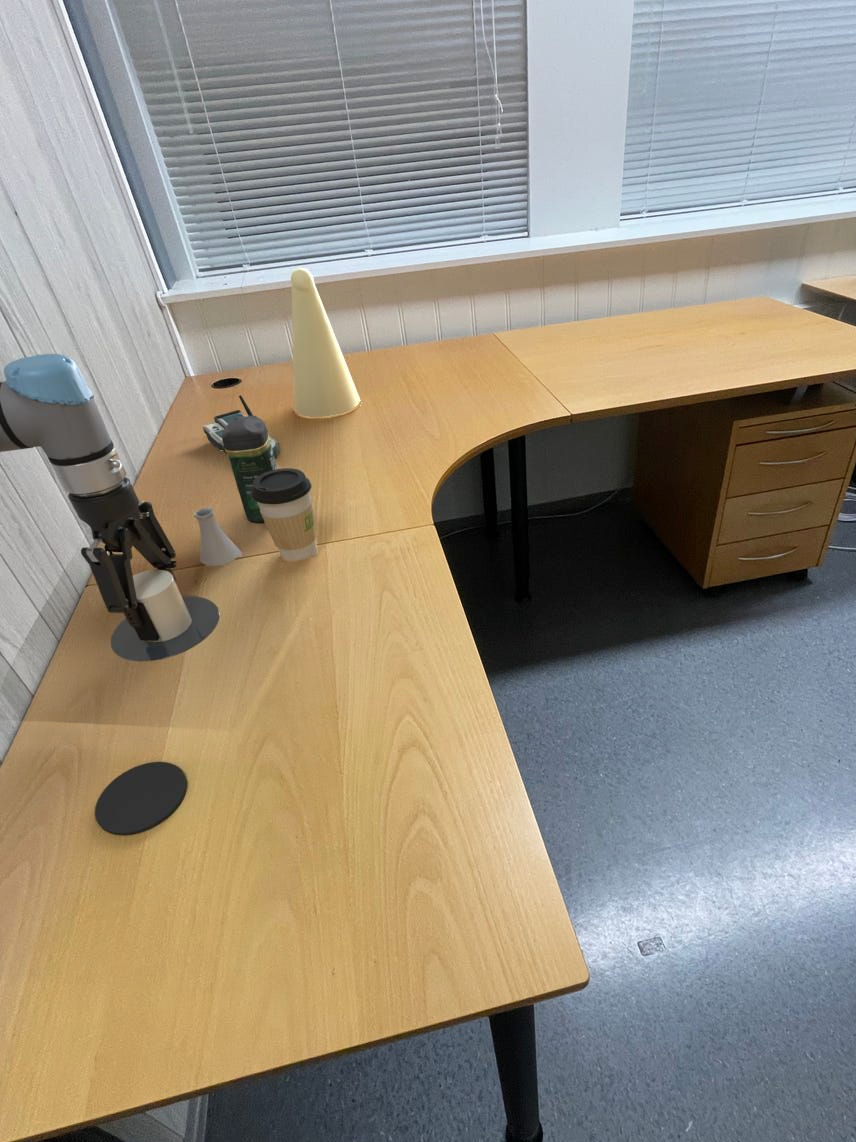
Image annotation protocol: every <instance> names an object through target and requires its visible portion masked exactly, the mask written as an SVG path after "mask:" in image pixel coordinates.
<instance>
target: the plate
mask: <svg viewBox="0 0 856 1142" xmlns="http://www.w3.org/2000/svg"><path fill="white" fill-rule="evenodd" d="M182 597H183V599H184V601H185V605H186V607H187V609H188V611H189V614H190V616H191V619H192V621H191V625H190V626H189V628H188V629H187V630H186V631H185V632H183V633H182V634H181V635H179V636H177V637H175V638H173V639H170V640H167V641H162V642H149V641H143V640H140V638H139V637H138V635H137V633H136V631H135V629H134V627H131V626H130V624H129V623H128V621H127V619H126V617H125V618H124V619H123V620H121V622H120V623H119V624H118V625H117V626H116V627H115V629H114V631H113V632H112V634H111V636H110V647H111V649H112V651H113V653H114V654H116V655H117V656H118V657H120V658H122V659H124V660H128V661H132V662H153V661H159V660H164V659H168V658H171V657H172V658H173V657H175V656H177V655H180V654H183V653H185V652H186V651H188V650H191V649H192V648H194V647H196V646H198V645H199V644H200V643H201V642H203V641H205V639H207V638H208V637H209V636H210V635H211V634H212V633H213V632H214V630H215V629H216V627H217V626H218V624H219V622H220V616H221V614H220V612H221V611H220V609H219V607H218V606H217V604H216V603H215V602H214V601H212V600H210V599H208V598H206V597H202V596H198V595H197V596H196V595H182Z"/></svg>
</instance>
